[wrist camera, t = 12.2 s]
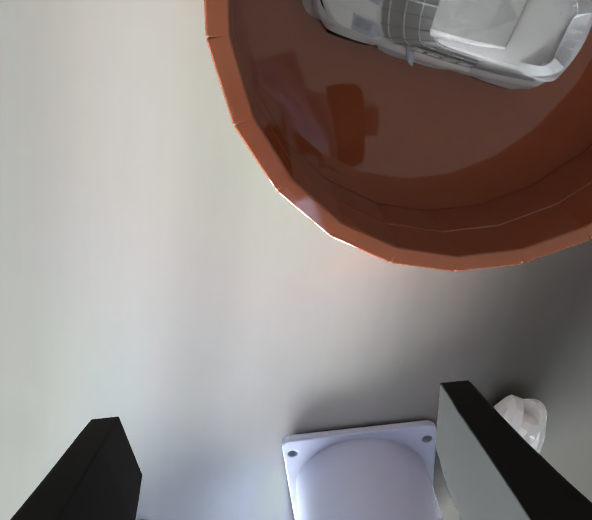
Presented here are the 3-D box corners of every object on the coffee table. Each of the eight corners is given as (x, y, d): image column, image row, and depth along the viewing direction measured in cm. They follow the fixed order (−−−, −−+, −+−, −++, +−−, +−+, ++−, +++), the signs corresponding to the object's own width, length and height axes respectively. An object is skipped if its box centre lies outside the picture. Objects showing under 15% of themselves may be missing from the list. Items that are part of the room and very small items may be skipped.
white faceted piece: (434, 479, 27) (451, 527, 25) (490, 377, 23) (516, 423, 21) (484, 483, 28) (505, 531, 25) (547, 384, 24) (579, 429, 21)
